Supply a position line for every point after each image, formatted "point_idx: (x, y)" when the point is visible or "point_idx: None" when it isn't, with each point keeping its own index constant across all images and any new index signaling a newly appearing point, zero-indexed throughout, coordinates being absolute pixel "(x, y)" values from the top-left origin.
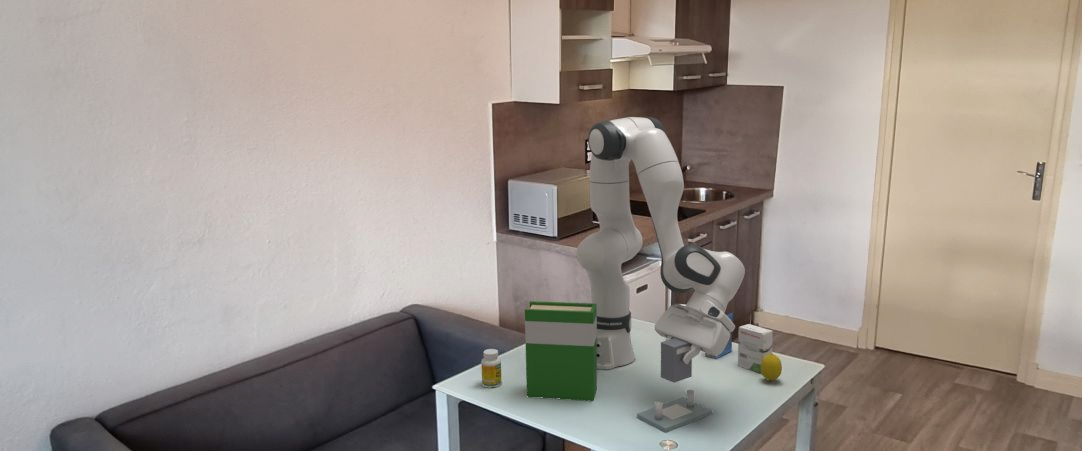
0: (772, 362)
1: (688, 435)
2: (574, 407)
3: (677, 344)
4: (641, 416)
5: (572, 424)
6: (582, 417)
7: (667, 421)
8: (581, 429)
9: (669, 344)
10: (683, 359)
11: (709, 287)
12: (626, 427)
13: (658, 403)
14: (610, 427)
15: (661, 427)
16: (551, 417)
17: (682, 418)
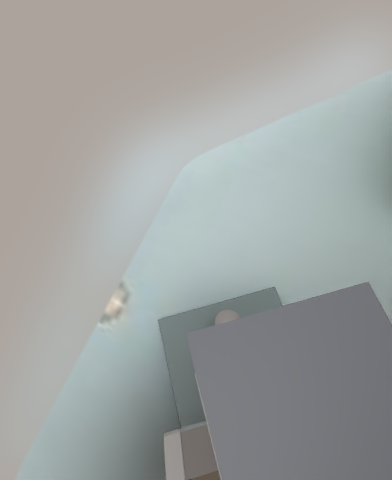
0: None
1: (115, 376)
2: (374, 174)
3: (252, 418)
4: (255, 292)
5: (283, 146)
6: (313, 173)
7: None
8: (253, 154)
9: (280, 329)
10: (175, 433)
11: None
12: (227, 242)
13: (222, 318)
14: (241, 209)
15: (175, 315)
16: (330, 121)
17: (194, 407)
